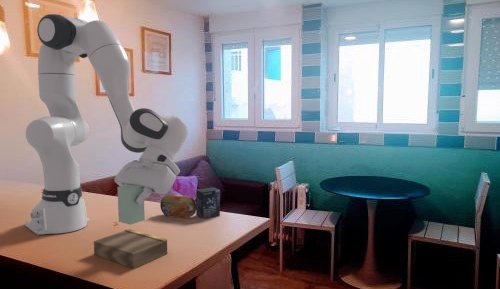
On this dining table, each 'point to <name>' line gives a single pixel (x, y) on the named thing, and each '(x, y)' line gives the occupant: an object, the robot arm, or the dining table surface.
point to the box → (207, 202)
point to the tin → (178, 206)
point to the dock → (130, 248)
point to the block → (130, 204)
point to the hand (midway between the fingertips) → (129, 201)
